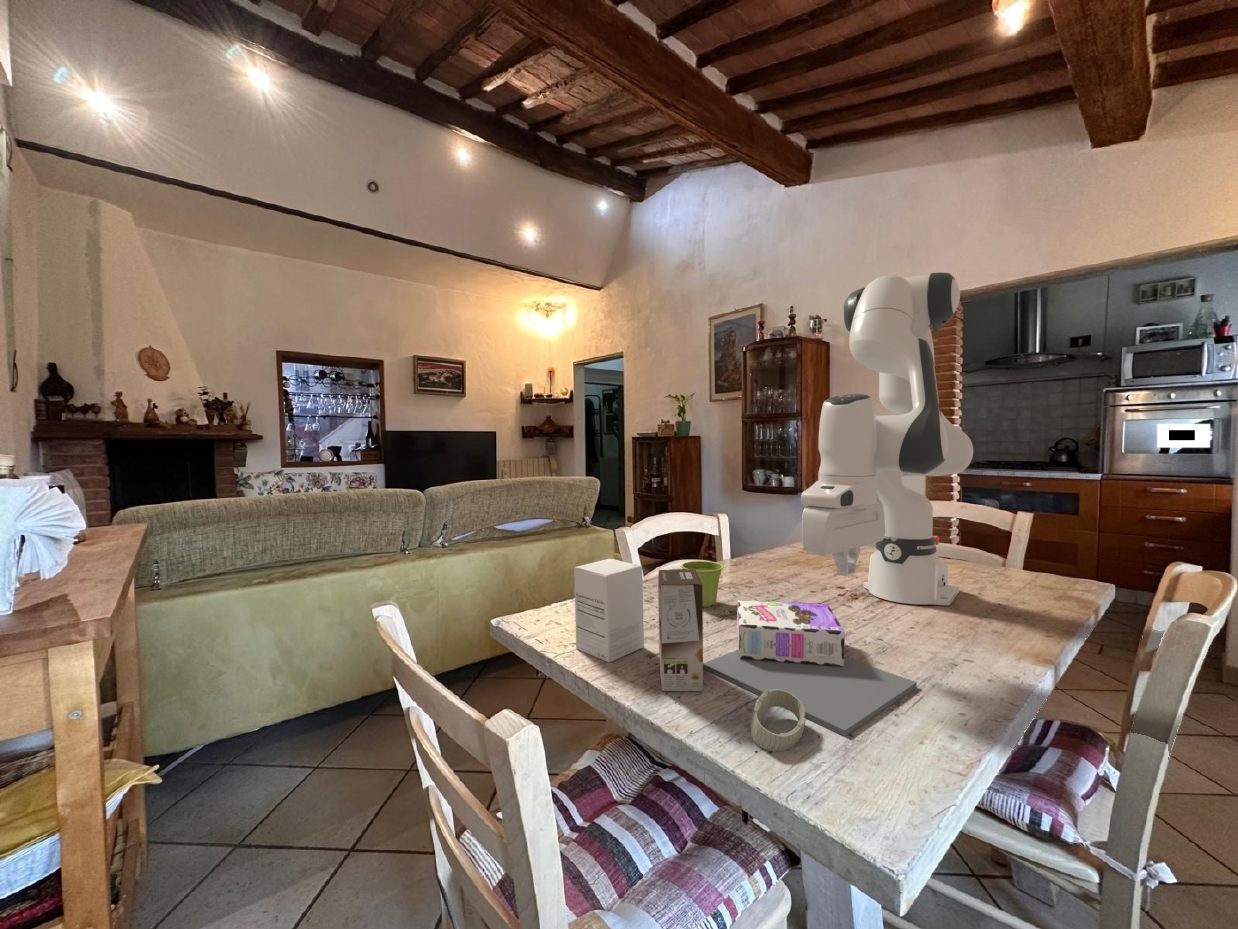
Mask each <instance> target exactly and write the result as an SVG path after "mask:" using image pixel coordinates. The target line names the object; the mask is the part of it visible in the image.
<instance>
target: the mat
mask: <svg viewBox="0 0 1238 929" xmlns="http://www.w3.org/2000/svg"><path fill="white" fill-rule="evenodd" d="M703 670H706V671H707V672H709V673H711V674H713V675H716V676H717V677H720V678H722V679H723V680H726V681H728V682H730V683H733V684H734V685H736V686H739V687H740V688H743V689H744V690H747V691H749V692H751V693H753V694H755V695H756V696H759V697H760V696H761V694H762V693H763V692H764V690H766V689H768V690H773V689H781V690H785V691H788V692H790V693H791V694H793V695H794V696H796V697H797V698H798V699H799V700H800V701H801V703H802V704H803V706H804V710H805V716H804V718H805V719H806V720H809V721H811V722H813V723H815V724H818V725H819V726H821V727H824V728H826V729H828V730H830V731H832V732H834V733H837V734H838V735H841V736H843V737H844V738H845V737H847V736H848V735H849V734H851V733H853V732H854V731H855V730H857V729H858V728H860V727H861V726H862V725H864V724H865V723H867V722H869V721H870V720H872V718H874V717H876V716H877V715H879V714H880V713H881V712H883V711H885V710H886V709H887V708H889V707H890V706H892V705H894V704H895V703H896V702H898V701H900V700H901V699H902V698H904V697H905V696H906V695H908V694H909V693H911V692H912V691H913V690H915V689H917V687H918V686H917V685H918V684H917V683H918V682H917V681H914V680H911V679H909V678H907V677H903V676H900V675H897V674H894V673H892V672H889V671H886V670H882V669H881V668H878V667H875V666H871V665H869V664H866V663H862V662H860V661H857V660H854V659H851V658H848V657H846V656H844V666H831V665H818V664H808V663H793V662H780V661H768V660H756V659H744V658H739V648H738V649H735V650H734V651H731V652H729V653H726V654H723V655H721V656H718V657H716V658H713V659H711V660H709V661H708V660H707V661H706V662H703Z"/></svg>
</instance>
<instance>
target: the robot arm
mask: <svg viewBox="0 0 1238 929" xmlns="http://www.w3.org/2000/svg"><path fill="white" fill-rule="evenodd" d="M960 299H961V292H960V287H959V285H958V283H957V281H956V279H955V276H954V275H952V274H951V273H950V272H943V271H942V272H931V273H930V274H922V275H914V276H905V277H901V276H898V275H892V274H891V275H883V276H880V277H877V278H875V279H874V280H872V281H870V282H869V283H868V284H867V285H866V287H861V288H859V289H857V290H854V291H852V292H851V293H850V294H849V295H848V296H847V297H846V299H845V301H844V304H843V310H842V317H843V322H844V325H845V326H844V327H845V328H846V330H847V332H849V340H848V343H849V345H848V346H849V347H848V348H849V351H850V353H851V356H852V357H853V359H855V361H856V362H857V363H858V364H860V365H861V366H862V367H864V368H866V369H868V370H870V371H872V372H873V371H874V372H876V373H879V374H878V375H879V376H878V377H879V378H878V399H879V403H880V404H881V405H882V406H883V407H884V408H885V409H887V410H888V411H890V412H893V413H894V414H893V415H892V414H891V415H890V414H889V415H876V412H875V406H874V400H873V397H872V396H870V395H868V394H864V393H863V394H861V393H859V394H857V393H854V394H853V393H851V394H843V395H836V396H832V397H829V398H827V399H826V400H824V402H823V403H822V407H821V411H820V417H819V426H818V427H819V428H818V452H819V454H820V465H819V470H818V474H817V476H818V480H816V481H815V482H814V483H813V484H812V485H811V486H809V487H808V488H806V489H805V490H803V492H801V494H800V503H801V505H802V506H805V507H804V509H803V511H802V515H801V545H802V548H803V549H804V552H806V553H807V554H809V555H815V556H820V557H826V556H830V555H832V558H833V560H834V562H835V564H836V574H837V575H838V576H842V577H846V576H847V577H848V576H849V575H850V576H851V575H853V574H856V573H857V572H856V571H857V569H856V568H857V567H856V566H857V563H858V560H859V556H860V554H861V547H864V546H868V545H871V544H875V549H876V550H875V552H873V553H872V554H871V555H870V557H869V558H870V559H869V568H868V579H867V580H868V581H864V582H862V583H863V585H862V587H863V588H865V589H866V590H868V591H869V593H870V594H871V595H873V596H875V597H876V598H880V599H883V600H886V601H889V602H895V603H900V604H910V605H935V606H936V605H937V606H951V604H952V603H953V601H954V600H955V598H956V597H957V596H958V594H959V593H960V590H961V589H960V586H958V585H956V584H952V583H949V569H948V566H947V565H946V563H945V562H944V561H943V560H942V559H941V558H940V557H939V556H938V555H937V546H939V543H940V537H939V536H938V535H933V532H934V531H933V529H934V528H933V521H934V520H933V519H934V518H933V517H934V516H933V515H934V512H933V511H934V508H933V505H932V503H931V501H930V499H928V498H927V497H926V496H924V495H922V494H921V493H919V492H917V491H915V490H913V489H910V488H908V487H906V486H905V485H904V484H903V482H902V478H903V477H906V476H907V477H911V476H913V477H922V476H923V477H940V476H949V475H953V474H959V473H962V472H964V471H965V470H966V469H967V468H968V467H969V466H970V464H971V462H972V460H973V456H974V446H973V442H972V440H971V438H970V437H969V436H968V435H967V434H966V432H964V431H963V430H962V429H959V428H958V427H956V426H955V425H954V424H953V423H951V422H950V420H949V419H948V418H946V416H945V415H944V414H943V412H942V410H941V405H940V404H941V403H940V396H939V389H938V384H937V383H938V381H937V376H936V368H935V365H936V364H935V348H934V347H935V346H934V341H933V335H932V330H931V328H930V327H932V329H933V331H934V333H935V334H936V333H938V332H939V331H940V329H941V327H942V326H945V325H946V324H948V322H950V321H951V320H952V318H953V317H954V316H955V315H956V312H957V309H958V307H959V305H960V304H959V303H960ZM895 413H896V414H895Z"/></svg>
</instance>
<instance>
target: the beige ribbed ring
mask: <svg viewBox="0 0 1238 929" xmlns="http://www.w3.org/2000/svg"><path fill="white" fill-rule="evenodd" d="M754 704H755V705H754V708H753V713H752V717H751V721H750V725H749V730H750V736H751V739H752V740H753V741H754V743H756V745H757V746H759V747H761V748H762V749H765V751H766V750H767V751H771V752H783V751H786V750H789V749H791V748H792V747H794V746H795V745H796V744H797V743H798V742H799V740H800V739H801V738H802V736H803V734H804V728H805V726H806V723H807V718H805V717H804V716H805V710H804V706H803V704H802V703H801V701H800V700H799V699H798V698H797V697H796V696H794V695H793V694H791V693H790V692H788V691H785V690H781V689H773V690H768V689H766V690H764V692H763V693H762V694H761V696H759V697H758V699H757V700H756V702H755V703H754ZM774 707H775V708H776V707H777V708H781V709H782V708H783V709H785V710H788V711H789V712H791V713H792V714H793V715H794V716H795V717H796V720H798V722H797V723H796V725H795V727H794V728H793V729H792V730H790V731H788V732H782V733H781V732H780V733H779V734H778V733H774V732H772V731H769V729H767V728H765V727H764V726H763V725H762V724H761V723H762V722H763V721H764V718H765V715H766V714H767V711H768V710H769V709H770V708H774Z"/></svg>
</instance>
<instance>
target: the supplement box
mask: <svg viewBox="0 0 1238 929" xmlns="http://www.w3.org/2000/svg"><path fill="white" fill-rule="evenodd" d="M573 571H574V572H573V573H574V574H573V576H574V577H573V579H574V609H575V613H574V614H575V616H574V617H575V649H577V650H578V651H580V652H583V653H586V654H587V655H591V656H592V657H595V658H596V659H599V660H602V661H604V662H607V663H612V662H614V661H616V660H618V659H620V658H623V657H625V656H627V655H629V654H631V653H633V652H636V651H638V650H641V649H643V648H644V647H645V634H644V633H645V632H644V631H645V629H644V589H643V588H644V586H643V584H644V583H643V566H642V565H640V564H637V563H630V562H625V561H622V560H618V559H615V558H607V559H603V560H602V559H601V560H597V561H594V562H589V563H586V564H582V565H579V566H578V565H577V566H574V567H573Z"/></svg>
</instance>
